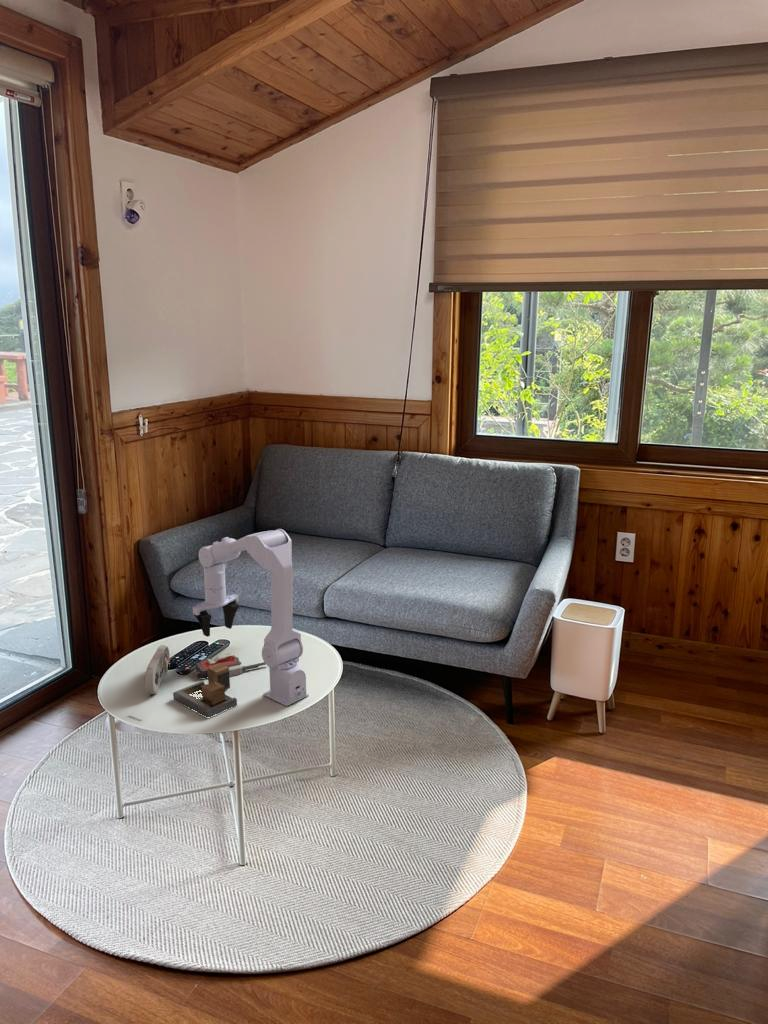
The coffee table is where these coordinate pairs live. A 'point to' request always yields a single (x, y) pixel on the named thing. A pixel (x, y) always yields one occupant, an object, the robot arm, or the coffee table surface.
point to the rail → (205, 698)
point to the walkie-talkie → (226, 660)
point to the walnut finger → (219, 675)
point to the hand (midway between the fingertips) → (217, 631)
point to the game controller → (157, 669)
